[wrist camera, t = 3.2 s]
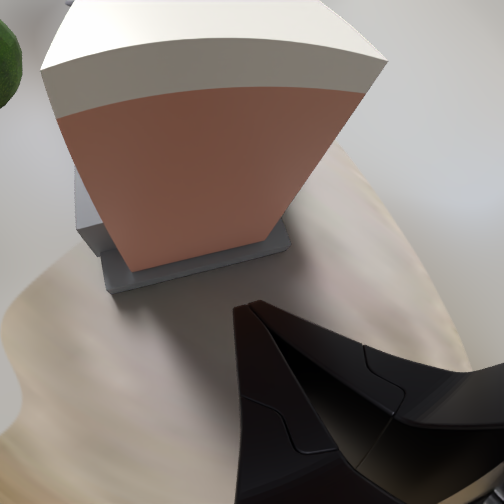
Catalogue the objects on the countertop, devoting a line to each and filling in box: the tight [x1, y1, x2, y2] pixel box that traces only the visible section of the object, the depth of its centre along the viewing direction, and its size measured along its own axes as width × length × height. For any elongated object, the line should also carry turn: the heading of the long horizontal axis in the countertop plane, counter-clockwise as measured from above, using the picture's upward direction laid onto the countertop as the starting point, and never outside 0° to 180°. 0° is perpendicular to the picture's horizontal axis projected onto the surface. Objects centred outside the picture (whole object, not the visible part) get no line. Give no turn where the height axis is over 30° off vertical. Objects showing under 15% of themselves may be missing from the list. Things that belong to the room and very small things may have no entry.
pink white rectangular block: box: [40, 0, 388, 272], centre depth 10 cm, size 5×7×11 cm
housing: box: [75, 166, 291, 294], centre depth 14 cm, size 13×11×7 cm
